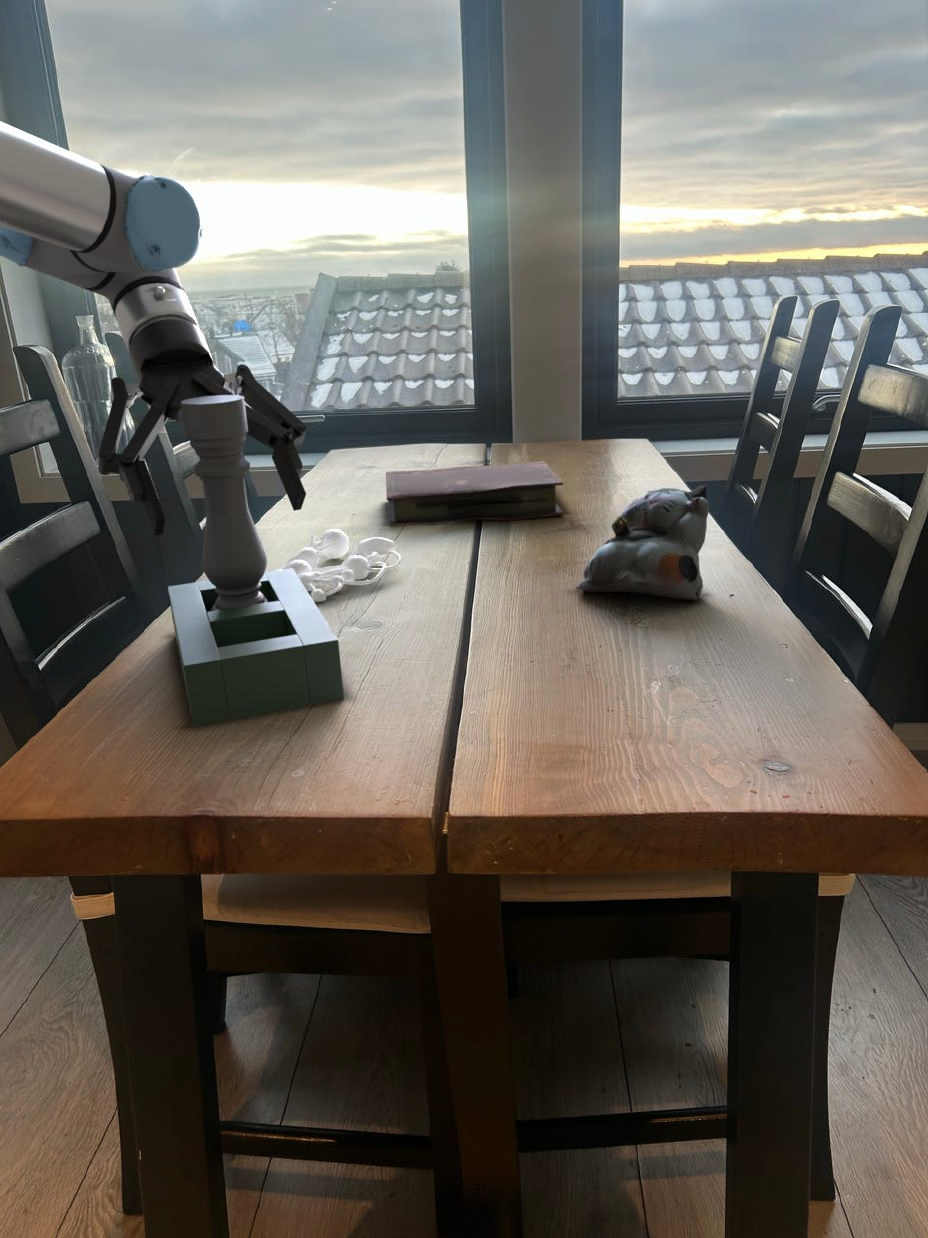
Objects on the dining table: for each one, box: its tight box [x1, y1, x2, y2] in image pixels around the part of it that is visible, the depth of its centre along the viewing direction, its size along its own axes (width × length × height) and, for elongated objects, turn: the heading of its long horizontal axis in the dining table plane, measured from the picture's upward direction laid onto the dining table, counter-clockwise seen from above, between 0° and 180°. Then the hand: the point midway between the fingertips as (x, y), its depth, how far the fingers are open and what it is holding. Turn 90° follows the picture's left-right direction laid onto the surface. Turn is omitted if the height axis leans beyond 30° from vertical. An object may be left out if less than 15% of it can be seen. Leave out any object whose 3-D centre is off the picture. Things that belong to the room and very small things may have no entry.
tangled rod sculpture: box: [275, 528, 403, 603], centre depth 119 cm, size 19×14×4 cm
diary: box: [385, 460, 564, 526], centre depth 149 cm, size 19×25×5 cm
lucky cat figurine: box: [574, 484, 710, 603], centre depth 108 cm, size 15×12×14 cm
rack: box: [167, 568, 345, 727], centre depth 95 cm, size 13×23×6 cm, turn 19°
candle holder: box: [181, 394, 269, 611], centre depth 96 cm, size 6×6×25 cm
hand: (232, 514), depth 94 cm, fingers open, 13 cm apart
